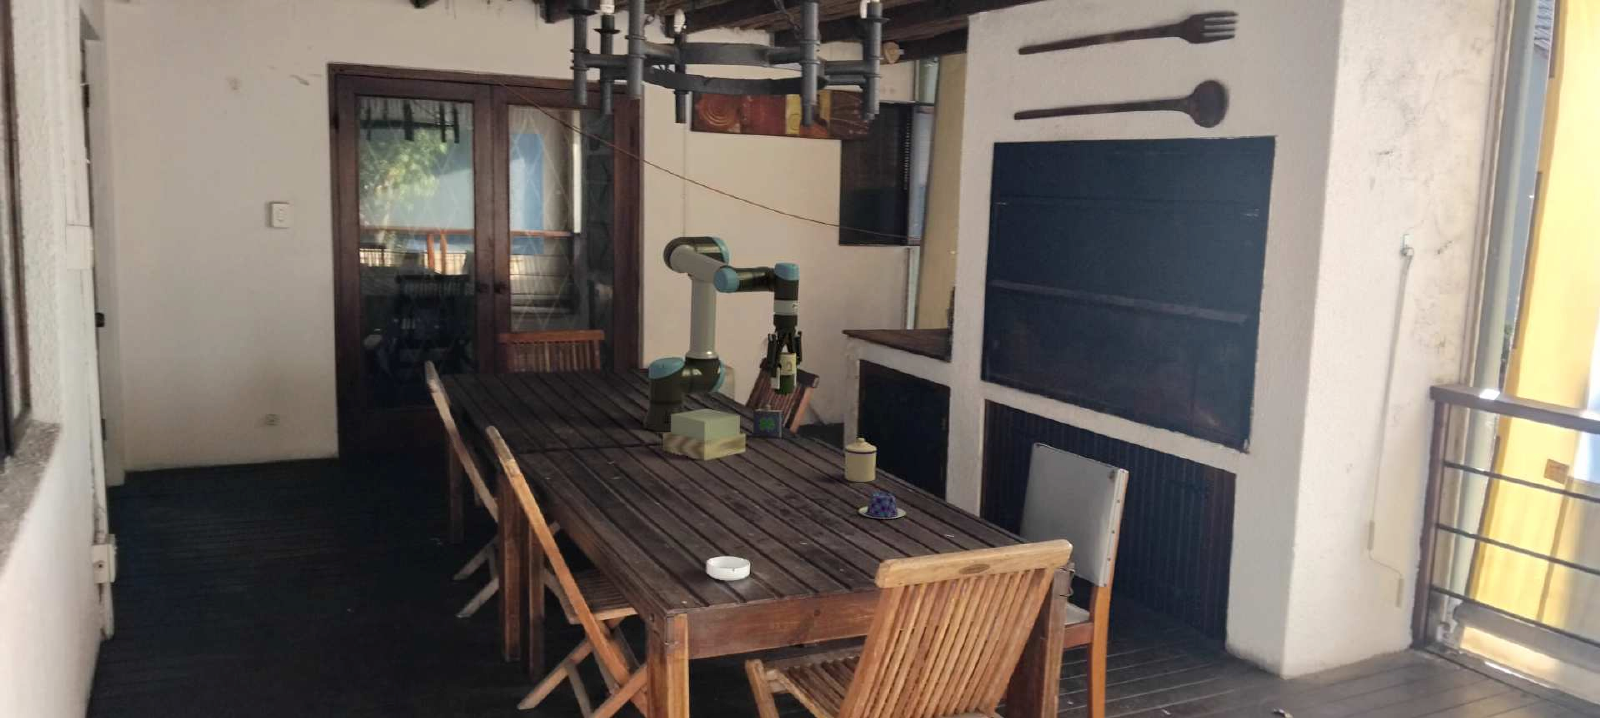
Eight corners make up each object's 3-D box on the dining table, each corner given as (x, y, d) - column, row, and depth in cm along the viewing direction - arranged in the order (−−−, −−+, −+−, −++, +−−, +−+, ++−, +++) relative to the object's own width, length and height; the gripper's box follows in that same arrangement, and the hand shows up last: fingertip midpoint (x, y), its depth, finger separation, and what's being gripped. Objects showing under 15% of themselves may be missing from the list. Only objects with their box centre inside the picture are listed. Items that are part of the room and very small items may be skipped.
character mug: (765, 392, 373) (766, 351, 371) (785, 391, 376) (787, 350, 374) (780, 398, 364) (782, 356, 362) (801, 397, 367) (802, 355, 365)
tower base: (663, 452, 368) (663, 433, 367) (704, 444, 382) (704, 425, 381) (704, 462, 356) (704, 442, 356) (745, 453, 370) (745, 434, 369)
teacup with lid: (881, 480, 337) (883, 440, 335) (854, 483, 332) (855, 443, 331) (860, 471, 347) (861, 432, 345) (833, 474, 343) (834, 434, 341)
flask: (781, 436, 394) (782, 404, 392) (780, 438, 391) (781, 406, 390) (753, 435, 394) (754, 403, 393) (752, 437, 392) (753, 405, 390)
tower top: (670, 433, 367) (671, 414, 366) (706, 427, 378) (706, 408, 378) (704, 441, 357) (704, 421, 357) (739, 434, 369) (739, 415, 368)
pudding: (865, 522, 295) (865, 501, 294) (853, 509, 307) (853, 489, 306) (911, 520, 298) (912, 500, 297) (898, 507, 309) (898, 488, 308)
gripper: (773, 316, 356) (771, 392, 360) (815, 312, 371) (813, 384, 375) (754, 314, 361) (752, 388, 364) (797, 310, 376) (795, 381, 380)
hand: (783, 386), depth 370 cm, fingers closed on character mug, 7 cm apart
